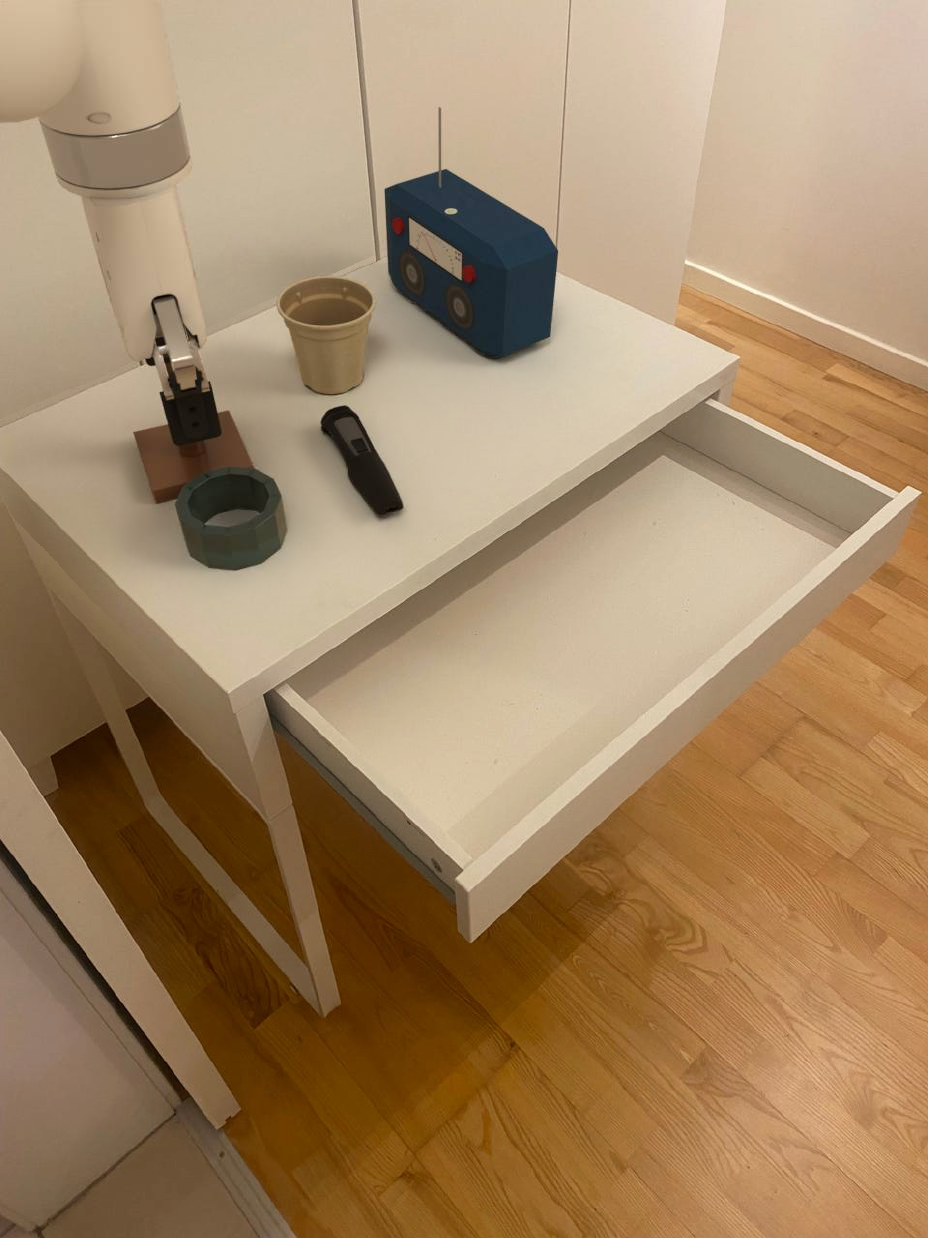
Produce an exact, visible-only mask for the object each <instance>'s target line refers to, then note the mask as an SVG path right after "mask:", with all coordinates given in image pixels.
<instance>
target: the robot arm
mask: <svg viewBox="0 0 928 1238" xmlns="http://www.w3.org/2000/svg"><path fill="white" fill-rule="evenodd" d="M36 118H38V121H39V125H40V128H41V131H42V133H43V137H44V140H45V141H44V142H45V145H46V147H47V150H48V154H49V157H50V160H51V163H52V166H53V169H54V173H55V177H56V180H57V183H58V184H59V185H60V187H62V188H63V189H65V190H66V191H67V192H69V193H71V194H74V195H77V196H80V198H81V203H82V207H83V210H84V214H85V218H86V222H87V226H88V230H89V233H90V237H91V240H92V245H93V248H94V251H95V254H96V257H97V261H98V265H99V268H100V272H101V275H102V278H103V281H104V285H105V288H106V292H107V295H108V298H109V301H110V305H111V307H112V312H113V314H114V317H115V320H116V323H117V326H118V327H117V328H118V330H119V333H120V335H121V340H122V341H123V345H124V347H125V350H126V354H127V356H128V357H129V358H130V359H131V360H133V361H135V362H137V363H140V362H142V360H145V363H146V365H147V366H149V367H155V368H156V371H157V374H158V376H159V381H160V384H161V387H162V391H158V392H159V397H160V401H161V404H162V407H163V411H164V415H165V418H166V422H167V424H168V426H169V430H170V433H171V437H172V440H173V443H174V444H175V445H176V446H182V445H186V444H191V443H195V442H199V441H204V440H208V439H212V438H216V437H219V436H220V435H221V433H222V430H221V426H220V421H219V417H218V413H219V412H218V408H217V403H216V400H215V395H214V390H213V386H212V383H211V380H208V377H207V373H206V370H205V368H204V363H203V359H202V356H201V352H200V350H201V349H202V348H203V347H204V346H205V344H206V342H207V332H206V325H205V319H204V314H203V313H204V312H203V308H202V303H201V302H202V301H201V297H200V292H199V287H198V281H197V275H196V270H195V266H194V261H193V255H192V250H191V247H190V241H189V237H188V233H187V227H186V223H185V218H184V213H183V209H182V204H181V201H180V197H179V192H178V187H177V185H178V184H179V183H180V182H182V181H183V180H185V178H186V177H187V176H188V175H189V174H190V173H191V170H192V167H193V162H192V156H191V151H190V146H189V141H188V135H187V130H186V125H185V120H184V115H183V109H182V105H181V102H180V96H179V90H178V85H177V81H176V76H175V70H174V65H173V60H172V56H171V50H170V45H169V40H168V35H167V30H166V26H165V20H164V15H163V11H162V5H161V1H160V0H0V124H1V123H2V124H5V123H20V122H21V123H22V122H25V121H29V120H33V119H36ZM170 362H171V365H172V368H173V371H171V372H169V376H168V373H167V369H166V366H165V363H170Z"/></svg>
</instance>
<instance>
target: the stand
mask: <svg viewBox="0 0 928 1238" xmlns="http://www.w3.org/2000/svg"><path fill="white" fill-rule="evenodd" d="M165 366H166V369H167V373H168V376H169V372H171V371H173V368H172V365H171V362H170V363H165ZM218 417H219V421H220V426H221V430H222V433H221V435H220V436H219V437H216V438H212V439H208V440H204V441H199V442H195V443H191V444H186V445H182V446H176V445H175V444H174V443H173V440H172V437H171V433H170V430H169V426H168V423H167V424H162V425H158V426H154V427H149V428H146V429H140V430H136V431H133V432H132V434H133V436H134V440H135V443H136V447H137V449H138V453H139V455H140V459H141V463H142V465H143V468H144V471H145V474H146V477H147V481H148V483H149V486H150V489H151V492H152V496H153V499H154V502H155V504H160V503H161V504H162V503H165V502H169V501H172V500H177V498H178V496H179V494H180V492H181V490H182V488H183V486H184V485H186V484H187V483H188V482H190V481H191V480H193V479H194V478H196V477H197V476H199V475H200V474H202V473H204V472H208V471H212V470H216V469H220V468H224V467H228V466H233V467H244V468H255V466H254V464H253V462H252V459H251V457H250V455H249V452H248V450H247V448H246V446H245V443H244V441H243V439H242V437H241V434H240V432H239V430H238V427H237V425H236V423H235V420H234V419H233V417H232V415H231V412H230V410H229V409H228V410H224V411H219V412H218Z"/></svg>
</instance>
